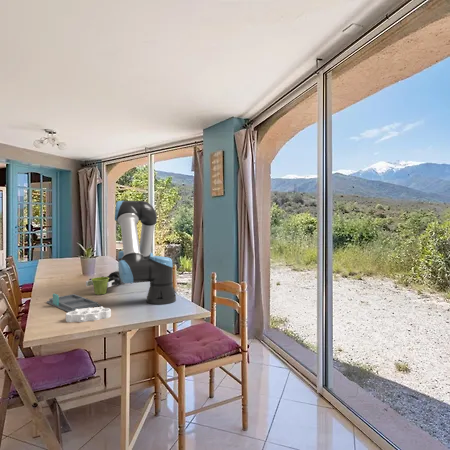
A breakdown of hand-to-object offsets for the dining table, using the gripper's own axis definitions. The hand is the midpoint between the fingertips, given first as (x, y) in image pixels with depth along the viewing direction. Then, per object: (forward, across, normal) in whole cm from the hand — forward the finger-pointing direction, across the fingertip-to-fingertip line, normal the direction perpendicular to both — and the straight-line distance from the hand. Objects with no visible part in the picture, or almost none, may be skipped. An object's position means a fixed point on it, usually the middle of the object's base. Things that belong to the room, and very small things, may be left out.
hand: (97, 284), depth 183 cm
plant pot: (-3, 0, -6) cm, 7 cm away
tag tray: (+20, +1, -6) cm, 21 cm away
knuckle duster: (+37, -20, -7) cm, 42 cm away
